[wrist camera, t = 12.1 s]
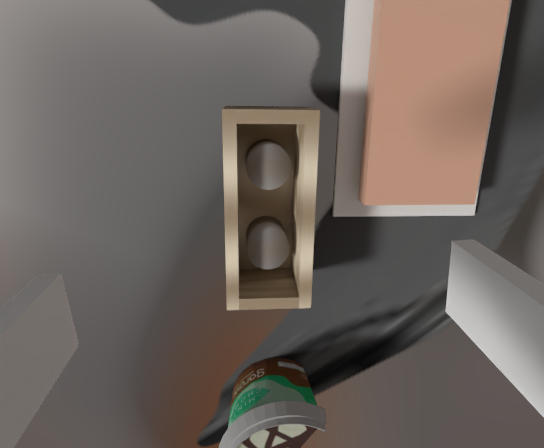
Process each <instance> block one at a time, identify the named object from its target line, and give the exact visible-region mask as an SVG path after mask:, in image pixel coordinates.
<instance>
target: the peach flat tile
mask: <svg viewBox="0 0 544 448" xmlns="http://www.w3.org/2000/svg"><path fill="white" fill-rule="evenodd" d="M509 4H510V0H374V10H373V23H372V35H371V47H370V60H369V72H368V84H367V97H366V109H365V121H364V134H363V146H362V158H361V170H360V183H359V195H358V200H359V201H360V202H361V203H363V204H364V205H469V204H475V200H476V194H477V188H478V183H479V177H480V171H481V165H482V160H483V154H484V148H485V142H486V136H487V131H488V125H489V119H490V113H491V108H492V102H493V96H494V90H495V85H496V79H497V73H498V67H499V62H500V56H501V50H502V44H503V39H504V33H505V27H506V21H507V16H508V10H509Z"/></svg>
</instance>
